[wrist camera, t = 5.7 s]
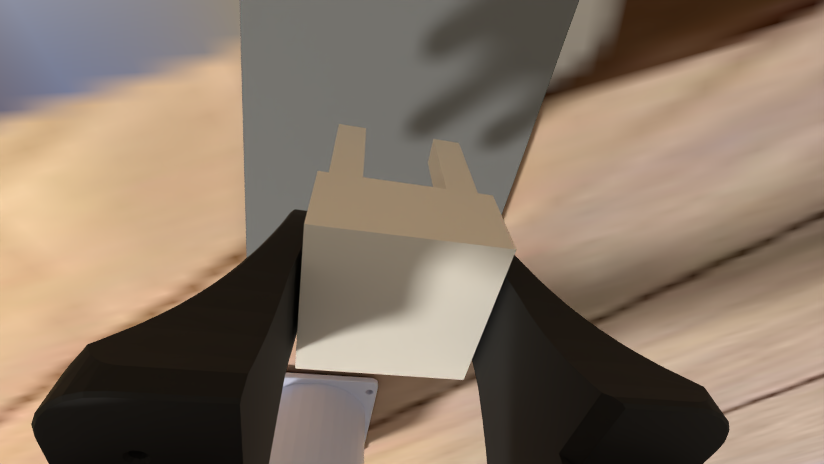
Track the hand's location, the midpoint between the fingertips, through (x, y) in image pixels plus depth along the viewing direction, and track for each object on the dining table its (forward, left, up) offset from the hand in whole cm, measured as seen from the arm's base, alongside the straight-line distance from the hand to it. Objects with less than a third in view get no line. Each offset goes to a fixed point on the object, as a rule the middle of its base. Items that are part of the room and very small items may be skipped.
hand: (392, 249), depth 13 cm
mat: (0, 0, -8) cm, 8 cm away
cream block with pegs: (0, 0, -4) cm, 4 cm away
